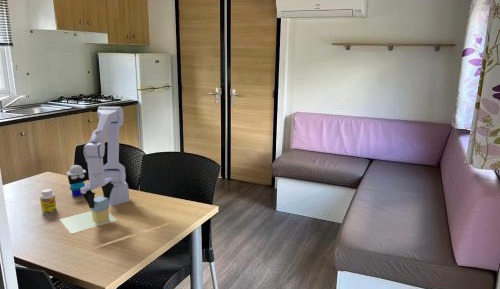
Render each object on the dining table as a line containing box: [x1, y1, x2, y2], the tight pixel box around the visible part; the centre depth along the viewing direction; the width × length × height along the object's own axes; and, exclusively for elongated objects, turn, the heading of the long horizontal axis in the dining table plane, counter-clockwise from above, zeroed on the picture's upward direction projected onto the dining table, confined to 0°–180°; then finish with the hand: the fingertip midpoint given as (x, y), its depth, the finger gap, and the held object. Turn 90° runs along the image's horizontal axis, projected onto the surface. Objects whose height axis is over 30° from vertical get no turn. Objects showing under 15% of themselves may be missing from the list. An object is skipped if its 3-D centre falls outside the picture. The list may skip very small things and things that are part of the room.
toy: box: [66, 164, 87, 197], centre depth 179 cm, size 8×9×15 cm
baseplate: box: [59, 210, 118, 234], centre depth 154 cm, size 18×16×1 cm
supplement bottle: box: [39, 188, 57, 215], centre depth 160 cm, size 6×6×10 cm
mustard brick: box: [91, 209, 110, 223], centre depth 153 cm, size 5×5×4 cm
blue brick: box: [90, 195, 110, 213], centre depth 152 cm, size 5×5×4 cm
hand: (99, 204), depth 152 cm, fingers open, 7 cm apart
